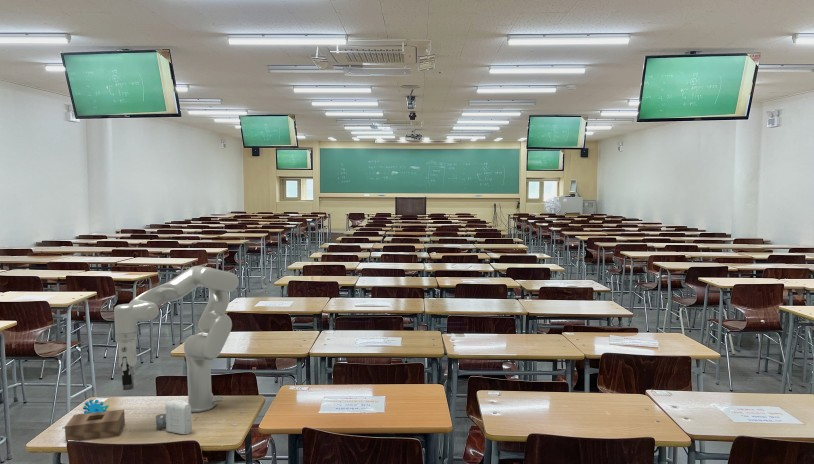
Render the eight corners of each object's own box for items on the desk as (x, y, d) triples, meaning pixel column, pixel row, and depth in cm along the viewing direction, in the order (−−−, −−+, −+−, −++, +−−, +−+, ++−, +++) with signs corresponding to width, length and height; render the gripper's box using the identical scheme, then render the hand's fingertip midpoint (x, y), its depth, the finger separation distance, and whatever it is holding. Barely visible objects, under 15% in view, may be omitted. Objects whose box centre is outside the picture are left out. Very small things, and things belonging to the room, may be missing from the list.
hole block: (124, 423, 231) (124, 409, 230) (118, 435, 219) (117, 420, 219) (74, 429, 226) (74, 414, 225) (65, 442, 214) (64, 426, 214)
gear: (90, 421, 230) (80, 400, 233) (83, 430, 232) (73, 409, 235) (115, 415, 240) (105, 395, 243) (107, 423, 241) (97, 404, 245)
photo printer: (193, 431, 222) (192, 400, 221) (185, 435, 218) (184, 403, 217) (173, 427, 226) (171, 397, 225) (164, 432, 222) (163, 400, 221)
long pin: (135, 386, 224) (133, 361, 224) (133, 389, 221) (132, 364, 220) (123, 387, 223) (122, 362, 223) (121, 390, 219) (120, 365, 219)
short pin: (168, 425, 228) (167, 413, 228) (166, 429, 225) (166, 416, 224) (157, 426, 227) (156, 414, 227) (155, 430, 223) (155, 418, 223)
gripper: (133, 340, 214) (135, 388, 215) (140, 330, 230) (142, 375, 231) (110, 342, 212) (113, 391, 213) (119, 332, 228) (121, 377, 229)
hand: (128, 382), depth 222 cm, fingers closed on long pin, 4 cm apart
